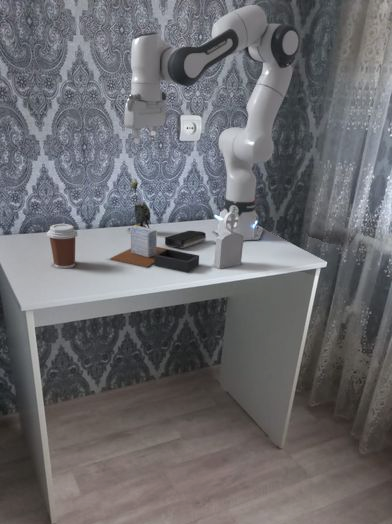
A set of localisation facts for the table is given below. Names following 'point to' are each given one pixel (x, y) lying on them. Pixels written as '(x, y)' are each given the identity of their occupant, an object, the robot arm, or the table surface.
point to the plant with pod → (140, 209)
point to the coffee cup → (63, 244)
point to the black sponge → (185, 239)
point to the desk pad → (136, 258)
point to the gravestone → (229, 243)
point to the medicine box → (143, 241)
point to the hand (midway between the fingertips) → (145, 142)
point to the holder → (176, 260)
